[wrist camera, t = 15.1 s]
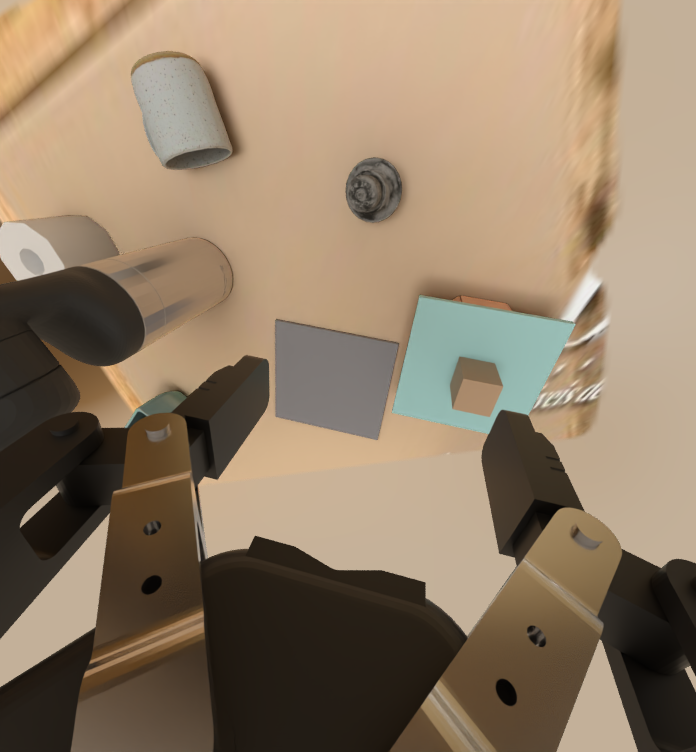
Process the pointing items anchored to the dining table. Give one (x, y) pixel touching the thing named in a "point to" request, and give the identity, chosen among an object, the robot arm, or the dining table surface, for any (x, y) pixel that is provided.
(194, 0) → the dining table surface
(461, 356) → the lid
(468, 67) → the dining table surface
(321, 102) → the dining table surface
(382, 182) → the dark grey chess piece
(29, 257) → the toilet tissue
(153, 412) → the flower pot
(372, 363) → the mat
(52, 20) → the dining table surface
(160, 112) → the ceramic mug
